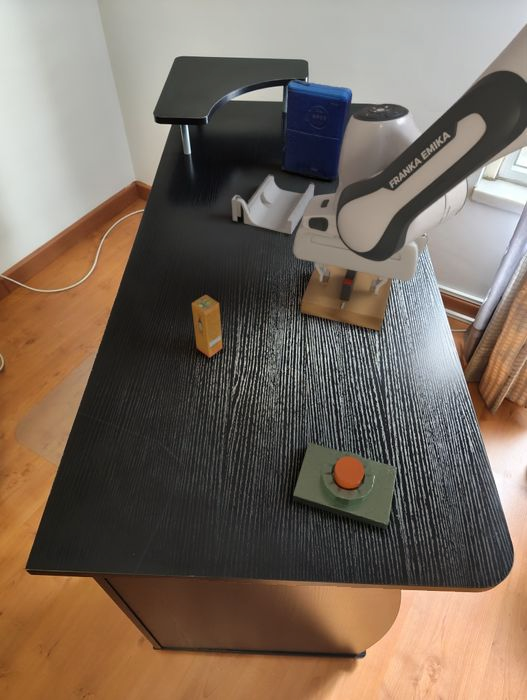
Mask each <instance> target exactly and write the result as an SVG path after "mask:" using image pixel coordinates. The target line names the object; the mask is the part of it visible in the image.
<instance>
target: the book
mask: <svg viewBox="0 0 527 700" xmlns="http://www.w3.org/2000/svg"><path fill="white" fill-rule="evenodd" d="M286 92H287V93H286V94H287V95H286V115H285V118H286V119H285V134H284V135H285V136H284V137H285V144H284V146H283V149H282V154H281V170H283V171H285V172H288V173H293V174H297V175H300V176H304V177H307V178H308V177H309V178H315V179H320V180H325V181H337V180H338V179H339V175H338V167H339V159H340V152H341V146H342V142H343V137H344V133H345V130H346V127H347V124H348V122H349V120H350V113H351V107H352V100H353V91H352V89H351V88H348V87H344V86H333V85H328V84H321V83H314V82H309V81H306V80H305V81H304V80H299V79H293V80H290V81H289V82H288V83H287V85H286Z"/></svg>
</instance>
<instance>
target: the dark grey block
mask: <svg viewBox="0 0 527 700" xmlns="http://www.w3.org/2000/svg"><path fill="white" fill-rule="evenodd" d="M357 272H358V271H354V270H349V269H347V272H346V275H345V278H344V281H343V284H342V289H341V295H340V299H341V300H346V301H349V299H350V296H351V293H352V290H353V287H354V284H355V280H356V277H357Z"/></svg>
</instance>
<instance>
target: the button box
mask: <svg viewBox="0 0 527 700" xmlns="http://www.w3.org/2000/svg"><path fill="white" fill-rule="evenodd" d="M343 457H353V458H355V459H357V460H358V461H360V463H361V464H362V465H363V468H364V475H363V478H362V481H361V483H360V485H359V486H358V487H356V488H354V489H345V488H342V487H340V486H339V485H338V484H337V483H336V481H335V479H334V475H333V474H334V469H335V465H336V463H337V461H338V460H339V459H341V458H343ZM397 469H398V466H394V465H391V464H387V463H384V462H380V461H376V460H373V459H370V458H366V457H363V456H362V455H361V454H358V453H354V452H351V451H348V450H343V451H341V450H338V449H334V448H331V447H327V446H325V445H324V446H323V445H321V444H320V445H319V444H316V443H313V442H308V443H307V447H306V450H305V454H304V457H303V460H302V463H301V468H300V469H299V470H300V471H299V474H298V478H297V481H296V484H295V487H294V491H293V494H292V501H293V502H296V503H299V504H301V505H302V504H303V505H304V506H309V507H312V508H315V509H318V510H321V511H325V512H327V513H331V514H334V515H338V516H341V517H344V518H346V519H350V520H354V521H356V522H359V523H362V524H363V523H364V524H367V525H370V526H373V527H376V528H379V529H382V530H386V529H387V527H388V525H389V520H390V515H391V509H392V502H393V495H394V490H395V482H396V477H397Z"/></svg>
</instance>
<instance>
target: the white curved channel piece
mask: <svg viewBox="0 0 527 700" xmlns="http://www.w3.org/2000/svg"><path fill="white" fill-rule="evenodd" d="M309 182H310V184H309V185H308V188H306V190H305V191H304V192H303V193H299V192H296V191H295V192H294V191H289V190H285V189H282V188H280V187H279V186H278V185H277V184H276V182H275V176H274V175H267V177H265V180H264V181H263V182H262V184H260V185H259V188H257V189H256V192H254V193H253V194H252V196H251V198H250V200H248V202H246V201H245V200H244V199H243V198H242V197H241V195H238V194H235V195H234V196H233V197H232V198H231V211H232V221H234V222H238V217H239V218H241V216H242V214H241V213H242V212H241V207H242V210H243V224H246V225H249V226H252V227H253V226H254V227H259V228H263V229H267V230H271V231H275V232H279V233H284V234H287V235H292V234H293V232H294V231H295V229H296V227H297V225H298V224H299V223H300V221H301V220H302V217H303V213H304V211H305V208H306V206H307V205H308V203H309V201H310V200H311V199H312V197H314V196H315V184H313V182H312V181H309Z"/></svg>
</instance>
